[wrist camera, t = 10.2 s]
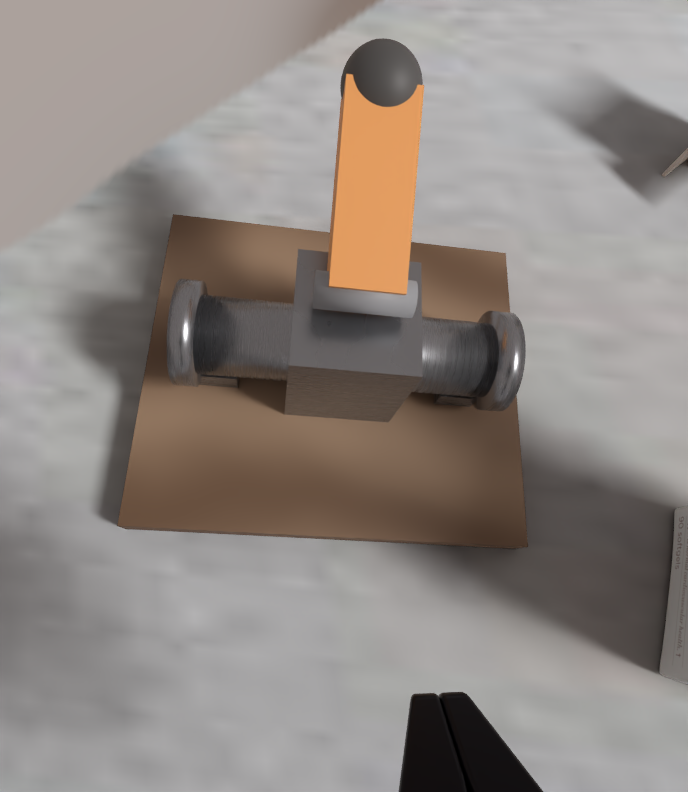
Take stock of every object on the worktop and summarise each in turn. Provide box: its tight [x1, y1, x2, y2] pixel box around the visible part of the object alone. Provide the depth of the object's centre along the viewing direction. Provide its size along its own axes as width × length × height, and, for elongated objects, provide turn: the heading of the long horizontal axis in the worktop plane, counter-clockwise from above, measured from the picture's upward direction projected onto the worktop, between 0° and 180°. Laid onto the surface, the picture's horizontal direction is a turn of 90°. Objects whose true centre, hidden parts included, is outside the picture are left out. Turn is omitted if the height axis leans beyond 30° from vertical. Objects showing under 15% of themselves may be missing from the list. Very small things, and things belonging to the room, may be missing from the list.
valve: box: [167, 249, 525, 423], centre depth 20 cm, size 4×13×5 cm, turn 88°
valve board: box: [117, 214, 528, 549], centre depth 23 cm, size 14×16×1 cm
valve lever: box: [312, 39, 424, 318], centre depth 17 cm, size 3×3×8 cm
